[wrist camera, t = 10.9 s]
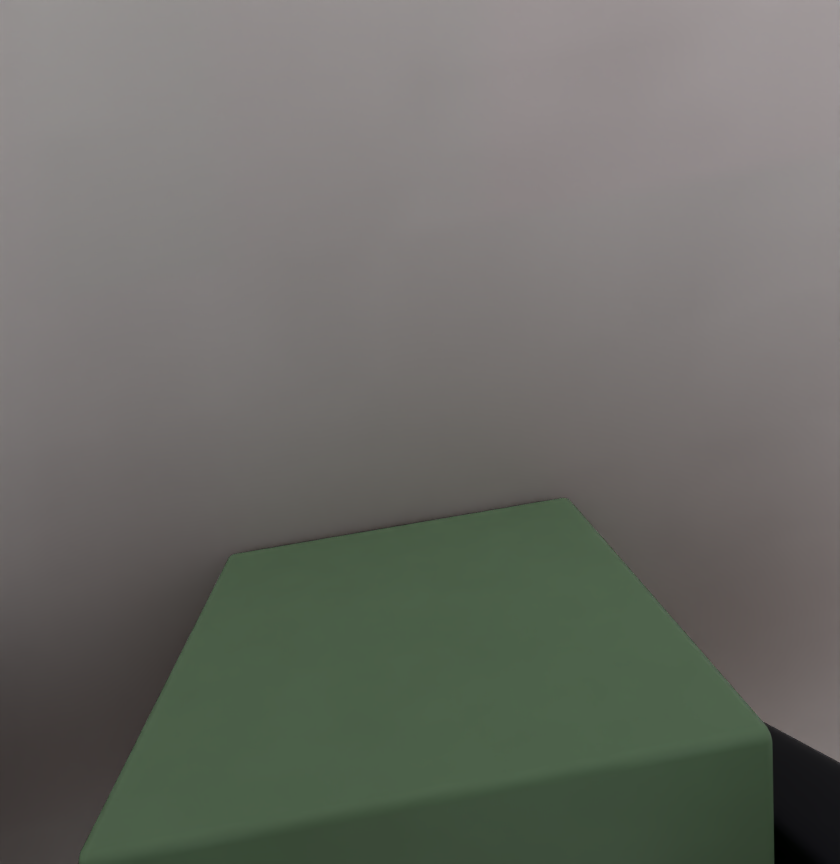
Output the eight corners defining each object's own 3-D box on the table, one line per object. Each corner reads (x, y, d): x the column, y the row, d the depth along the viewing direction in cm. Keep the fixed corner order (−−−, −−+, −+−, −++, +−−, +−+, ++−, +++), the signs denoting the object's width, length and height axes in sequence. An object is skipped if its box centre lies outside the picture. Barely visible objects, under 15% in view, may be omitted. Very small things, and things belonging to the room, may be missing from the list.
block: (595, 775, 9) (783, 1197, 5) (297, 830, 9) (233, 1313, 5) (568, 493, 8) (778, 732, 4) (227, 552, 8) (67, 863, 4)
